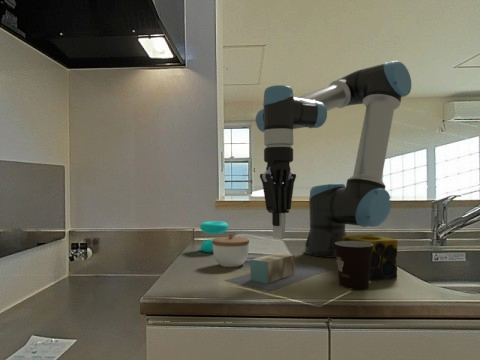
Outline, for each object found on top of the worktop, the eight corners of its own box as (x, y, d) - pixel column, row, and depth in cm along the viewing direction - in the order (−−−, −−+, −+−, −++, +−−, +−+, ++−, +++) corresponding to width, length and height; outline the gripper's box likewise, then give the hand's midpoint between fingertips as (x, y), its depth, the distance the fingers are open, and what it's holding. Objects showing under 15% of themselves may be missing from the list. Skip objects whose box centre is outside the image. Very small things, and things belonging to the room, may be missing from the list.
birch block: (279, 252, 105) (250, 259, 96) (294, 254, 101) (266, 262, 92) (279, 271, 105) (250, 279, 96) (294, 274, 101) (266, 283, 92)
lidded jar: (227, 272, 106) (227, 237, 106) (205, 265, 114) (205, 233, 114) (256, 266, 112) (256, 234, 112) (233, 260, 121) (233, 230, 121)
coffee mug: (375, 293, 86) (375, 247, 86) (335, 290, 87) (335, 246, 87) (369, 279, 97) (369, 239, 97) (333, 277, 99) (333, 238, 99)
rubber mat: (289, 263, 116) (289, 261, 116) (332, 270, 107) (332, 268, 107) (224, 282, 95) (224, 280, 95) (270, 292, 86) (270, 291, 86)
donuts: (230, 223, 133) (201, 224, 132) (230, 252, 133) (201, 253, 132) (226, 220, 143) (199, 221, 142) (226, 247, 143) (199, 248, 142)
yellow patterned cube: (340, 273, 104) (340, 236, 104) (371, 269, 108) (370, 233, 108) (365, 282, 94) (365, 241, 94) (398, 278, 98) (398, 239, 98)
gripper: (281, 149, 108) (281, 234, 108) (251, 146, 98) (251, 239, 98) (304, 147, 103) (305, 236, 103) (275, 144, 93) (275, 243, 93)
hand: (278, 238), depth 100 cm, fingers closed
